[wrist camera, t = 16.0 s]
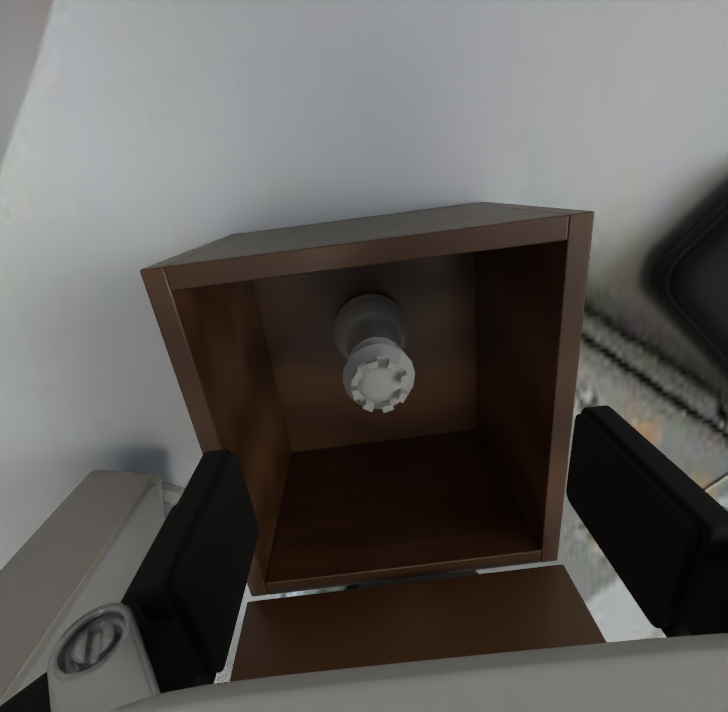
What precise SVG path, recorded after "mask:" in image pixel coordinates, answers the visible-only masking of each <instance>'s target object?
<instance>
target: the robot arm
mask: <svg viewBox="0 0 728 712" xmlns="http://www.w3.org/2000/svg"><path fill="white" fill-rule="evenodd" d="M566 492H567V497H568V500H569V502H570V504H571V505H572V507H573V508H574V510H575V511H576V513H577V514H578V516H579V517H580V519H581V520H582V522H583V523H584V525H585V526H586V528H587V529H588V531H589V532H590V534H591V535H592V537H593V538H594V540H595V541H596V543H597V544H598V546H599V547H600V549H601V550H602V552H603V553H604V555H605V556H606V558H607V559H608V561H609V562H610V563H611V565H612V566H613V568H614V569H615V571H616V572H617V574H618V575H619V577H620V578H621V580H622V581H623V583H624V584H625V586H626V587H627V589H628V590H629V592H630V593H631V595H632V596H633V598H634V599H635V601H636V602H637V604H638V605H639V607H640V608H641V610H642V611H643V613H644V614H645V616H646V617H647V619H648V620H649V621H650V623H651V624H652V625H653V626H654V627H656V628H661V629H662V631H663V632H664V634H665V635H666V638H653V639H641V640H630V641H620V642H609V643H598V644H588V645H577V646H566V647H556V648H545V649H535V650H524V651H514V652H504V653H494V654H484V655H474V656H464V657H454V658H444V659H434V660H424V661H414V662H404V663H394V664H385V665H375V666H366V667H356V668H347V669H338V670H328V671H319V672H309V673H300V674H290V675H281V676H272V677H265V678H257V679H249V680H241V681H233V682H225V683H217V684H214V680H215V676H216V673H218V672H221V671H222V670H223V669H224V666H225V663H226V660H227V656H228V652H229V648H230V644H231V641H232V637H233V633H234V629H235V625H236V621H237V618H238V614H239V610H240V606H241V602H242V598H243V594H244V591H245V587H246V583H247V579H248V575H249V571H250V568H251V564H252V560H253V556H254V552H255V548H256V545H257V541H258V536H259V524H258V520H257V517H256V514H255V511H254V508H253V504H252V501H251V498H250V495H249V492H248V489H247V486H246V482H245V479H244V476H243V473H242V470H241V467H240V464H239V460H238V457H237V455H236V454H234V453H233V454H231V453H230V451H229V450H228V449H221V450H213V451H207V452H205V453H204V455H203V456H202V458H201V460H200V462H199V464H198V466H197V468H196V469H195V471H194V473H193V475H192V477H191V479H190V481H189V482H188V484H187V486H186V488H185V490H184V492H183V494H182V495H181V497H180V499H179V501H178V503H177V504H176V505H175V506H173V508H172V509H171V511H170V512H169V514H168V516H167V518H166V519H165V521H164V523H163V525H162V527H161V529H160V530H159V532H158V534H157V536H156V538H155V540H154V541H153V543H152V545H151V547H150V549H149V551H148V552H147V554H146V556H145V558H144V560H143V562H142V563H141V565H140V567H139V569H138V571H137V573H136V574H135V576H134V578H133V580H132V582H131V584H130V585H129V587H128V589H127V591H126V593H125V595H124V596H123V598H122V600H121V602H120V603H109V604H105V605H102V606H99V607H97V608H95V609H93V610H91V611H89V612H87V613H86V614H84V615H83V616H82V617H80V618H79V619H78V620H76V621H75V622H74V623H73V624H72V625H71V626H70V627H69V628H68V629H67V630H66V631H65V632H64V633H63V634H62V635H61V637H60V638H59V640H58V641H57V643H56V644H55V645H54V647H53V649H52V652H51V654H50V656H49V658H48V665H47V672H45V673H44V674H43V675H41V676H40V677H39V678H37V679H36V680H35V681H33V682H32V683H31V684H29V685H28V686H26V687H25V688H24V689H22V690H21V691H20V692H18V693H17V694H16V695H14V696H13V697H12V698H10V699H9V700H8V701H6V702H5V703H4V704H2V705H1V706H0V712H728V511H727V510H726V509H724V508H723V507H722V506H721V505H720V504H719V503H718V502H717V501H715V500H714V499H713V498H712V497H711V496H710V495H709V494H708V493H706V492H705V491H704V490H703V489H702V488H701V487H700V486H699V485H697V484H696V483H695V482H694V481H693V480H692V479H691V478H690V477H688V476H687V475H686V474H685V473H684V472H683V471H682V470H681V469H679V468H678V467H677V466H676V465H675V464H674V463H673V462H672V461H670V460H669V459H668V458H667V457H666V456H665V455H664V454H663V453H661V452H660V451H659V450H658V449H657V448H656V447H655V446H654V445H652V444H651V443H650V442H649V441H648V440H647V439H646V438H645V437H643V436H642V435H641V434H640V433H639V432H638V431H637V430H636V429H634V428H633V427H632V426H631V425H630V424H629V423H628V422H627V421H625V420H624V419H623V418H622V417H621V416H620V415H619V414H618V413H616V412H615V411H614V410H613V409H612V408H611V407H609V406H597V407H588V408H584V409H583V410H582V412H581V414H578V415H577V416H576V419H575V426H574V433H573V441H572V449H571V457H570V465H569V472H568V480H567V488H566Z"/></svg>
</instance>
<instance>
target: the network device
mask: <svg viewBox="0 0 728 712" xmlns="http://www.w3.org/2000/svg"><path fill="white" fill-rule="evenodd" d="M184 490H185V489H183V488H181V487H178V486H175V485H169V484H162V481H161V477H160V476H159V475H157V474H145V473H133V472H121V471H109V470H94V471H92V472H90V473H89V474H88V475H87V476H86V477H85V478H84V479H83V481H82V482H81V483H80V484H79V485H78V486H77V487H76V488H75V489H74V490H73V492H72V493H71V494H70V495H69V496H68V497H67V498H66V499H65V500H64V501H63V503H62V504H61V505H60V506H59V507H58V508H57V509H56V510H55V511H54V512H53V514H52V515H51V516H50V517H49V518H48V519H47V520H46V521H45V522H44V523H43V525H42V526H41V527H40V528H39V529H38V530H37V531H36V532H35V533H34V534H33V536H32V537H31V538H30V539H29V540H28V541H27V542H26V543H25V544H24V545H23V547H22V548H21V549H20V550H19V551H18V552H17V553H16V554H15V555H14V556H13V558H12V559H11V560H10V561H9V562H8V563H7V564H6V565H5V566H4V567H3V569H2V570H1V571H0V706H1V705H2V704H4V703H5V702H6V701H8V700H9V699H10V698H12V697H13V696H14V695H16V694H17V693H18V692H20V691H21V690H22V689H24V688H25V687H26V686H28V685H29V684H31V683H32V682H33V681H35V680H36V679H37V678H39V677H40V676H41V675H43V674H44V673H45V672H47V665H48V658H49V656H50V654H51V652H52V649H53V647H54V645H55V644H56V643H57V641H58V640H59V638H60V637H61V635H62V634H63V633H64V632H65V631H66V630H67V629H68V628H69V627H70V626H71V625H72V624H73V623H74V622H75V621H76V620H78V619H79V618H80V617H82V616H83V615H84V614H86V613H87V612H89V611H91V610H93V609H95V608H97V607H99V606H102V605H105V604H109V603H120V602H121V600H122V598H123V596H124V595H125V593H126V591H127V589H128V587H129V585H130V584H131V582H132V580H133V578H134V576H135V574H136V573H137V571H138V569H139V567H140V565H141V563H142V562H143V560H144V558H145V556H146V554H147V552H148V551H149V549H150V547H151V545H152V543H153V541H154V540H155V538H156V536H157V534H158V532H159V530H160V529H161V527H162V525H163V523H164V521H165V519H164V505H163V503H174V504H177V503H178V501H179V499H180V497H181V495H182V494H183V492H184Z"/></svg>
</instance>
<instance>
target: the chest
mask: <svg viewBox="0 0 728 712" xmlns="http://www.w3.org/2000/svg"><path fill="white" fill-rule="evenodd" d="M593 220H594V212H593V211H583V210H572V209H560V208H549V207H537V206H525V205H514V204H502V203H490V202H480V203H472V204H464V205H456V206H449V207H441V208H433V209H425V210H418V211H410V212H402V213H394V214H387V215H379V216H371V217H363V218H356V219H348V220H340V221H332V222H325V223H317V224H309V225H301V226H294V227H286V228H278V229H270V230H263V231H255V232H247V233H239V234H232V235H229V236H227V237H224V238H221V239H219V240H216V241H214V242H211V243H208V244H206V245H203V246H201V247H198V248H195V249H193V250H190V251H188V252H185V253H182V254H180V255H177V256H175V257H172V258H169V259H167V260H164V261H162V262H159V263H156V264H154V265H151V266H149V267H146V268H143V269H141V270H140V273H141V276H142V278H143V281H144V284H145V287H146V290H147V293H148V296H149V299H150V302H151V305H152V308H153V310H154V313H155V316H156V319H157V322H158V325H159V328H160V331H161V334H162V337H163V339H164V342H165V345H166V348H167V351H168V354H169V357H170V360H171V363H172V366H173V369H174V371H175V374H176V377H177V380H178V383H179V386H180V389H181V392H182V395H183V398H184V400H185V403H186V406H187V409H188V412H189V415H190V418H191V421H192V424H193V427H194V430H195V432H196V435H197V438H198V441H199V444H200V447H201V450H202V453H203V455H204V453H205V452H207V451H213V450H221V449H228V450H229V451H230V453H231V454H233V453H234V454H236V455H237V457H238V460H239V464H240V467H241V470H242V473H243V476H244V479H245V482H246V486H247V489H248V492H249V495H250V498H251V501H252V504H253V508H254V511H255V514H256V517H257V520H258V524H259V536H258V541H257V545H256V548H255V552H254V556H253V560H252V564H251V568H250V571H249V575H248V579H247V583H248V586H249V589H250V592H251V595H252V596H261V595H267V594H278V593H286V592H295V591H303V590H311V589H320V588H328V587H337V586H345V585H353V584H362V583H370V582H378V581H387V580H395V579H404V578H412V577H420V576H429V575H437V574H445V573H454V572H462V571H471V570H479V569H487V568H496V567H504V566H512V565H521V564H529V563H538V562H540V561H541V562H548V561H556V560H557V557H558V548H559V538H560V529H561V519H562V510H563V501H564V491H565V482H566V473H567V463H568V454H569V445H570V435H571V426H572V417H573V407H574V398H575V389H576V379H577V370H578V361H579V351H580V342H581V332H582V323H583V314H584V304H585V295H586V286H587V276H588V267H589V258H590V248H591V239H592V230H593ZM365 294H374V295H383V296H384V297H386V298H388V299H390V300H392V301H394V302H395V303H396V304H397V305H398V306H399V307H400V309H401V310H402V311H403V312H404V315H405V319H406V322H407V327H408V338H407V344H406V347H405V348H404V350H403V352H404V353H405V354H406V355H407V356H408V358H409V359H410V360H411V361H412V364H413V368H414V371H415V378H414V384H413V387H412V389H411V390H410V392H409V394H408V396H407V397H406V399H405V401H404V402H403V403H402V402H399V403H398V404H396V405H394V406H393V407H394V410H392V411H388V412H385V413H383V409H373V411H372V412H370V411H368V410H365V409H363V408H362V405H360V404H357V403H356V402H355V401H354V400H353V399H352V398H351V397H350V396H349V395H348V394H347V392H346V389H345V387H344V384H343V371H344V367H345V366H346V364H347V362H348V360H347V359H346V358H345V357H344V356H343V355H342V354H341V353H340V352H339V349H338V346H337V344H336V341H335V335H334V328H335V320H336V318H337V316H338V314H339V312H340V310H341V308H342V307H343V306H344V305H346V304H347V303H348V302H349V301H350V300H351V299H353V298H356V297H359V296H362V295H365Z"/></svg>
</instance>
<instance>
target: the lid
mask: <svg viewBox="0 0 728 712" xmlns="http://www.w3.org/2000/svg"><path fill="white" fill-rule="evenodd" d="M598 643H607V642H606V641H605V639H604V637H603V635H602V633H601V632H600V630H599V628H598V626H597V624H596V623H595V621H594V619H593V617H592V615H591V614H590V612H589V610H588V608H587V607H586V605H585V603H584V601H583V599H582V598H581V596H580V594H579V592H578V590H577V589H576V587H575V585H574V583H573V581H572V580H571V578H570V576H569V574H568V572H567V571H566V569H565V567H564V565H554V566H545V567H537V568H529V569H520V570H512V571H504V572H495V573H487V574H478V575H470V576H462V577H453V578H445V579H437V580H428V581H420V582H411V583H403V584H395V585H386V586H378V587H369V588H361V589H353V590H344V591H336V592H328V593H319V594H311V595H302V596H294V597H286V598H277V599H269V600H261V601H252V602H248V603H247V607H246V612H245V616H244V621H243V625H242V629H241V634H240V638H239V642H238V647H237V651H236V656H235V660H234V664H233V669H232V673H231V678H230V682H233V681H241V680H249V679H257V678H265V677H272V676H281V675H290V674H300V673H309V672H319V671H328V670H338V669H347V668H356V667H366V666H375V665H385V664H394V663H404V662H414V661H424V660H434V659H444V658H454V657H464V656H474V655H484V654H494V653H504V652H514V651H524V650H535V649H545V648H556V647H566V646H577V645H588V644H598Z"/></svg>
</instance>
